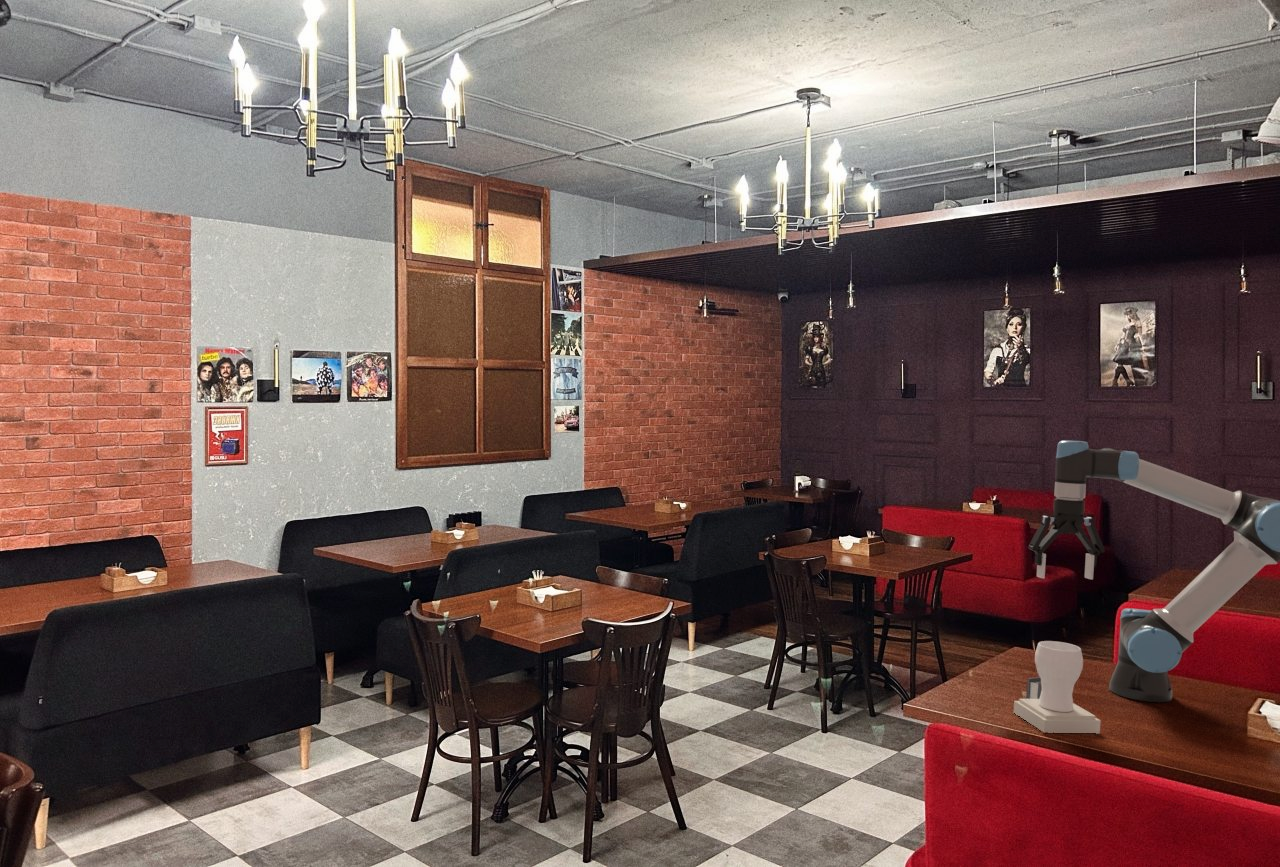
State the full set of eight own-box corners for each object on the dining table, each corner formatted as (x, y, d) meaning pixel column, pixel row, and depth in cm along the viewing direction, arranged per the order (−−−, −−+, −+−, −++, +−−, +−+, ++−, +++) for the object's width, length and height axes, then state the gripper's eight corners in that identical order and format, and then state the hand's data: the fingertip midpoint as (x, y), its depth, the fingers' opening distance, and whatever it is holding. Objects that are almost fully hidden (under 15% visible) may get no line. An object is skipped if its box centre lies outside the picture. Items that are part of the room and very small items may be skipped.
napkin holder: (1052, 701, 243) (1054, 674, 243) (1065, 705, 239) (1067, 679, 239) (1025, 705, 238) (1027, 678, 238) (1038, 710, 235) (1040, 683, 235)
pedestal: (1066, 713, 233) (1067, 697, 233) (1099, 733, 219) (1100, 717, 219) (1013, 713, 232) (1014, 697, 231) (1043, 733, 218) (1044, 717, 217)
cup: (1085, 716, 219) (1089, 653, 218) (1037, 711, 221) (1041, 649, 220) (1073, 702, 229) (1077, 642, 229) (1028, 698, 231) (1031, 638, 231)
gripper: (1104, 498, 251) (1100, 576, 252) (1017, 495, 248) (1013, 574, 249) (1122, 501, 243) (1117, 581, 244) (1032, 498, 241) (1027, 579, 241)
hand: (1064, 578), depth 246 cm, fingers open, 13 cm apart
